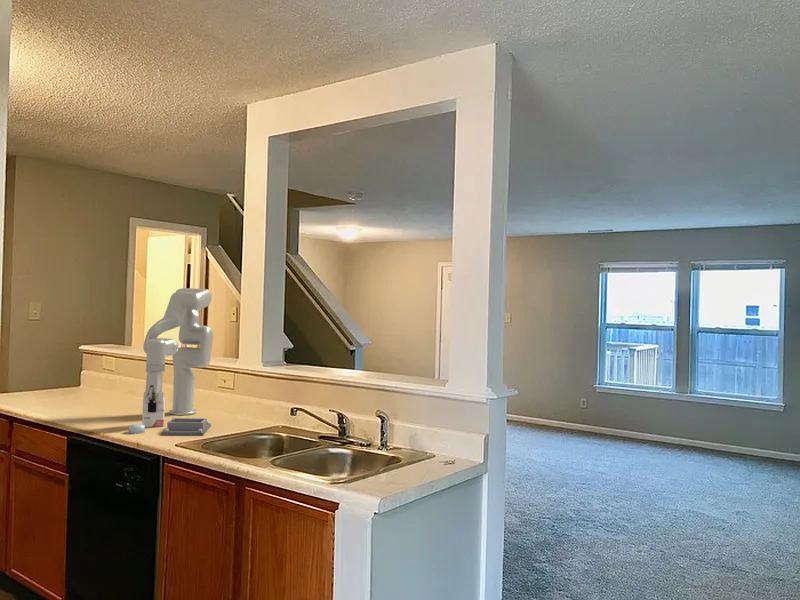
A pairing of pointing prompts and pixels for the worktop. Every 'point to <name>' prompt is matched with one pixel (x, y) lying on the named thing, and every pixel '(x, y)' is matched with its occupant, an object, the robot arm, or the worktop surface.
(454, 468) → the worktop surface
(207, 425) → the chassis plate
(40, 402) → the worktop surface
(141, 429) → the pale blue dome
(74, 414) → the worktop surface
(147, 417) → the ink cartridge box
